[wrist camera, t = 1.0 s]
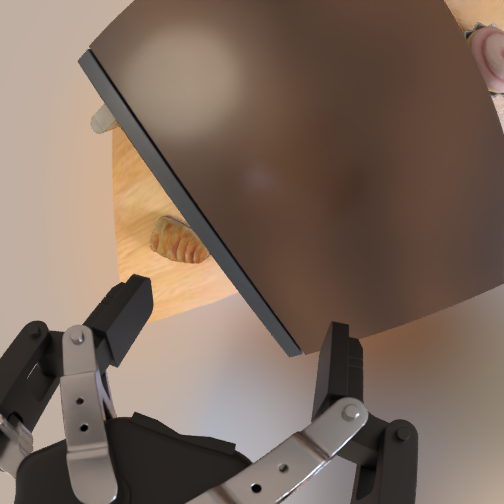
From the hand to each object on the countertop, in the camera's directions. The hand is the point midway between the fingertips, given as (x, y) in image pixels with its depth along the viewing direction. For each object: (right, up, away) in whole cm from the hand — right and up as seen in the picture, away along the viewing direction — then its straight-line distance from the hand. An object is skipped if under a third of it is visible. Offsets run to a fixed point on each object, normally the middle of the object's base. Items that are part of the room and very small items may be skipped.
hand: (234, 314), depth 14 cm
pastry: (-11, +5, +38) cm, 39 cm away
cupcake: (+29, +27, +14) cm, 41 cm away
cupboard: (+11, +21, +22) cm, 32 cm away
